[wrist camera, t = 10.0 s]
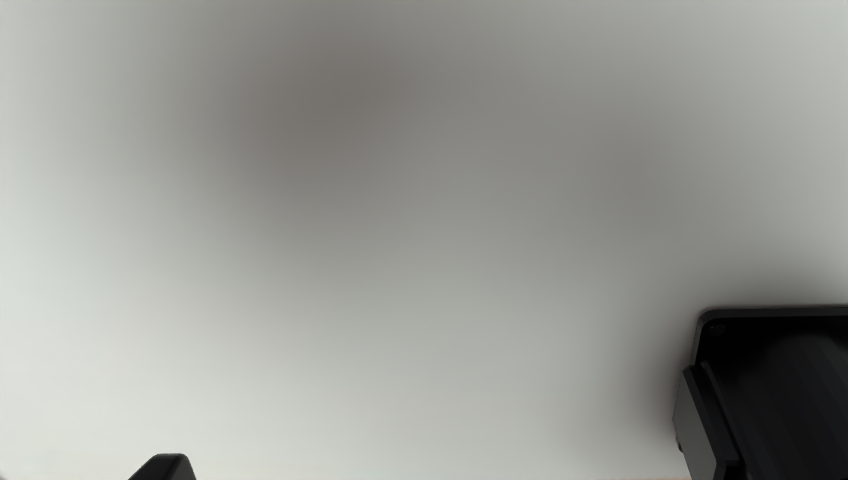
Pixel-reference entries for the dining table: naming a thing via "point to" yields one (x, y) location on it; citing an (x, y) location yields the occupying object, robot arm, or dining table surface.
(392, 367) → the dining table surface
